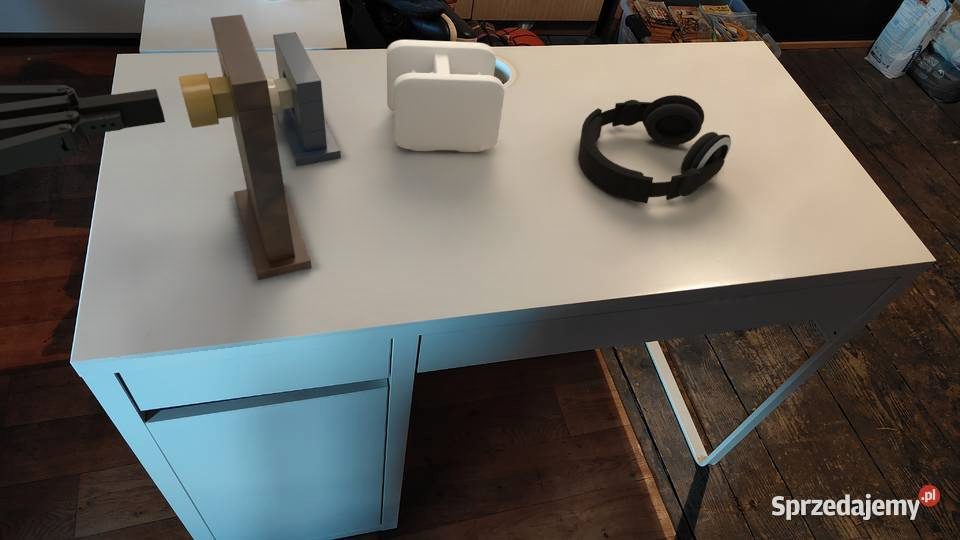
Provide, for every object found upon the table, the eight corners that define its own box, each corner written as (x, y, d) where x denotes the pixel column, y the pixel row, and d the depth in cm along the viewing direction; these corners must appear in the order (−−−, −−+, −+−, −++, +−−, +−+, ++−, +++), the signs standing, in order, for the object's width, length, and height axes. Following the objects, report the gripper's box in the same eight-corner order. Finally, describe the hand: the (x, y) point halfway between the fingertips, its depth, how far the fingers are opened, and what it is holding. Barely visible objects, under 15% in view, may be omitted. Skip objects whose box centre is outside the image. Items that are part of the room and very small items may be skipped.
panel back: (296, 166, 87) (286, 90, 78) (271, 106, 95) (259, 32, 86) (340, 157, 89) (335, 82, 80) (312, 100, 97) (305, 26, 88)
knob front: (194, 138, 63) (182, 94, 59) (187, 109, 66) (176, 66, 62) (264, 127, 65) (256, 84, 62) (254, 99, 68) (247, 57, 64)
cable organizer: (387, 153, 90) (387, 78, 82) (387, 108, 97) (386, 35, 89) (495, 155, 93) (506, 82, 84) (487, 111, 99) (496, 39, 91)
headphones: (760, 146, 86) (622, 183, 81) (742, 191, 92) (613, 227, 87) (687, 73, 97) (562, 103, 92) (675, 118, 103) (557, 147, 98)
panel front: (257, 280, 73) (215, 93, 56) (235, 198, 82) (192, 14, 64) (311, 267, 75) (287, 83, 58) (284, 189, 84) (255, 7, 66)
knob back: (263, 124, 86) (258, 92, 82) (255, 103, 88) (249, 71, 85) (313, 115, 88) (310, 83, 84) (303, 95, 91) (300, 64, 87)
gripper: (-113, 139, 61) (162, 101, 69) (-134, 235, 53) (179, 179, 61) (-164, 66, 55) (142, 33, 63) (-195, 162, 48) (158, 111, 55)
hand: (160, 105), depth 62 cm, fingers closed
